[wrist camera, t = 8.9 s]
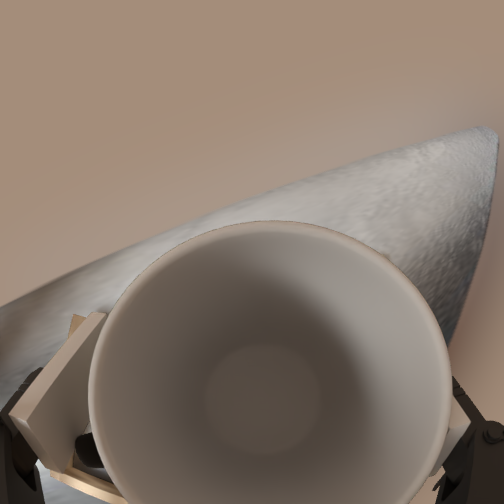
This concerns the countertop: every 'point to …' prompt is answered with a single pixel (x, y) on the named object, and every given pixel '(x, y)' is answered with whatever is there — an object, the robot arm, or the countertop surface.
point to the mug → (269, 374)
